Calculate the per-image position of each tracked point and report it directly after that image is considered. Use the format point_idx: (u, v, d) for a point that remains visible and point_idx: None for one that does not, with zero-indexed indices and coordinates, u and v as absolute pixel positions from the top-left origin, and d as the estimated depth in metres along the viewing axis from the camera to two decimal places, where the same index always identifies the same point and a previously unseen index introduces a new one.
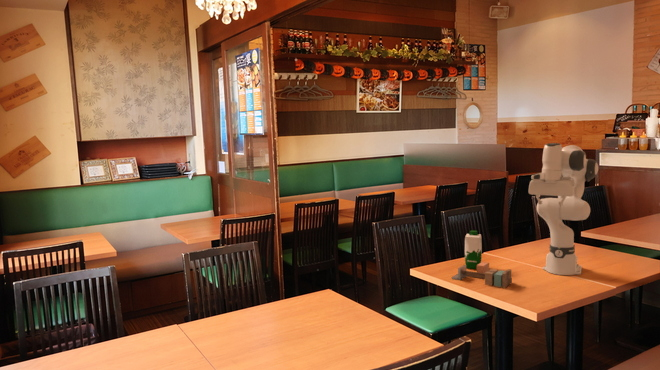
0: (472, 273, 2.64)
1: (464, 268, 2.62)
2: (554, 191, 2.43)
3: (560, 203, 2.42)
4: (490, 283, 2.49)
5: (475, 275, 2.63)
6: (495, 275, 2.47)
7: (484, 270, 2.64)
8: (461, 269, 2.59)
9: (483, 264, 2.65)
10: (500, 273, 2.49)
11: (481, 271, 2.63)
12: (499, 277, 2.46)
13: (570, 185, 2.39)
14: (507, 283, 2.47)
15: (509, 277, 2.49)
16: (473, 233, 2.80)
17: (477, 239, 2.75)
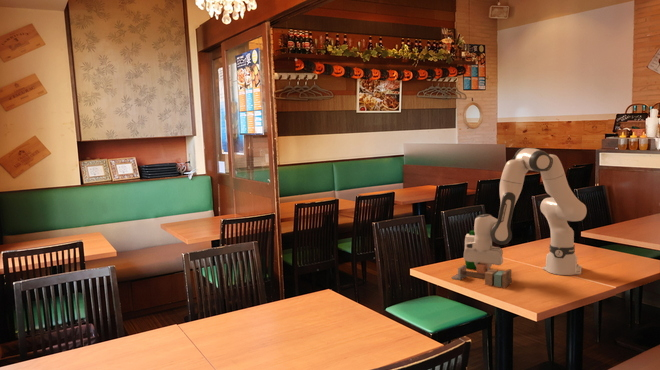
0: (472, 273, 2.64)
1: (464, 268, 2.62)
2: (485, 259, 2.63)
3: (487, 270, 2.64)
4: (490, 283, 2.49)
5: (475, 275, 2.63)
6: (495, 275, 2.47)
7: (484, 270, 2.64)
8: (461, 269, 2.59)
9: (483, 264, 2.65)
10: (500, 273, 2.49)
11: (481, 271, 2.63)
12: (499, 277, 2.46)
13: (499, 255, 2.59)
14: (507, 283, 2.47)
15: (509, 277, 2.49)
16: (473, 233, 2.80)
17: None
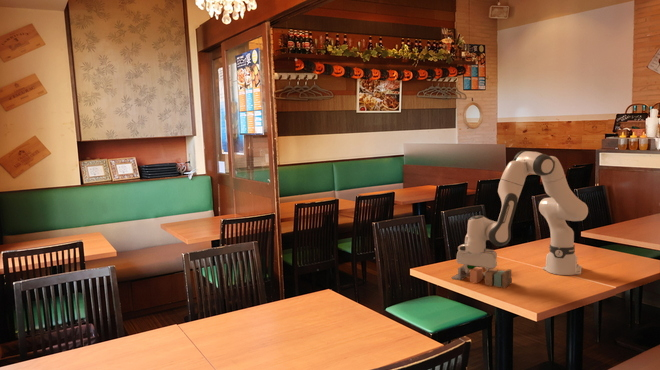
0: None
1: (464, 268, 2.62)
2: (478, 262, 2.54)
3: (484, 274, 2.54)
4: (490, 283, 2.49)
5: None
6: (495, 275, 2.47)
7: (478, 275, 2.55)
8: (461, 269, 2.59)
9: (477, 269, 2.56)
10: (500, 273, 2.49)
11: (474, 277, 2.54)
12: (499, 277, 2.46)
13: (492, 258, 2.49)
14: (507, 283, 2.47)
15: (509, 277, 2.49)
16: None
17: None
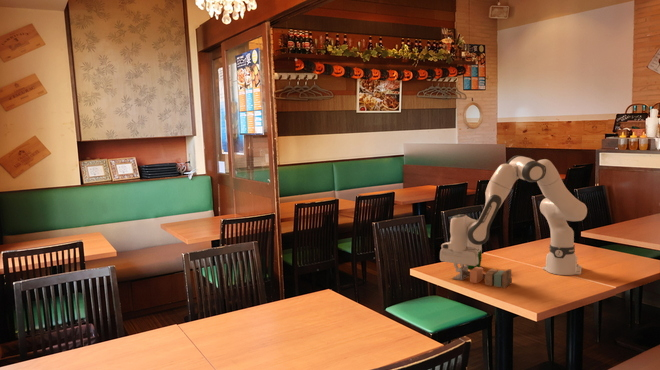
0: None
1: (466, 268, 2.62)
2: (461, 260, 2.60)
3: (459, 270, 2.62)
4: (490, 283, 2.49)
5: None
6: (495, 275, 2.47)
7: (478, 275, 2.55)
8: (462, 269, 2.59)
9: (477, 269, 2.56)
10: (500, 273, 2.49)
11: (474, 277, 2.54)
12: (499, 277, 2.46)
13: (474, 256, 2.55)
14: (507, 283, 2.47)
15: (509, 277, 2.49)
16: None
17: None
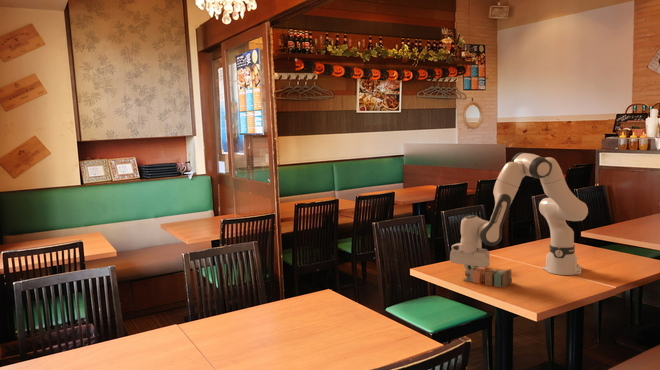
0: None
1: None
2: (471, 261, 2.57)
3: None
4: (490, 283, 2.49)
5: None
6: (495, 275, 2.47)
7: (480, 276, 2.54)
8: None
9: (479, 269, 2.55)
10: (500, 273, 2.49)
11: (477, 277, 2.53)
12: (499, 277, 2.46)
13: (485, 257, 2.52)
14: (507, 283, 2.47)
15: (509, 277, 2.49)
16: None
17: None
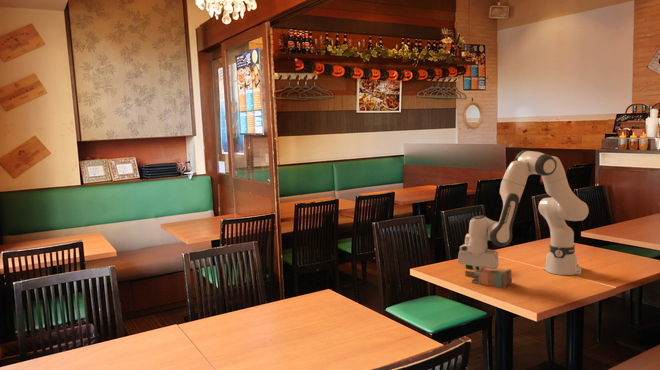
0: (472, 273, 2.64)
1: None
2: (480, 262, 2.54)
3: (478, 273, 2.56)
4: (493, 283, 2.48)
5: (475, 275, 2.63)
6: (496, 275, 2.47)
7: None
8: None
9: (487, 271, 2.52)
10: (500, 273, 2.48)
11: (485, 278, 2.50)
12: (500, 277, 2.46)
13: (494, 258, 2.49)
14: (507, 283, 2.47)
15: (509, 277, 2.49)
16: None
17: None
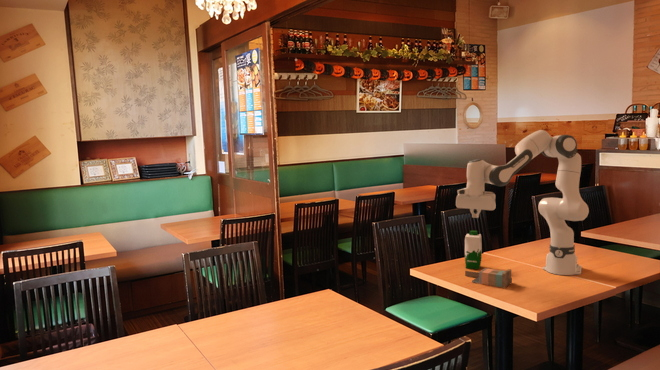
0: (472, 273, 2.64)
1: None
2: (477, 205, 2.57)
3: (476, 215, 2.60)
4: (493, 284, 2.48)
5: (475, 275, 2.63)
6: (496, 275, 2.47)
7: None
8: None
9: (488, 271, 2.52)
10: (501, 273, 2.48)
11: (486, 278, 2.50)
12: (500, 277, 2.46)
13: (491, 200, 2.53)
14: (507, 283, 2.47)
15: (509, 277, 2.49)
16: (473, 233, 2.80)
17: (477, 239, 2.75)
